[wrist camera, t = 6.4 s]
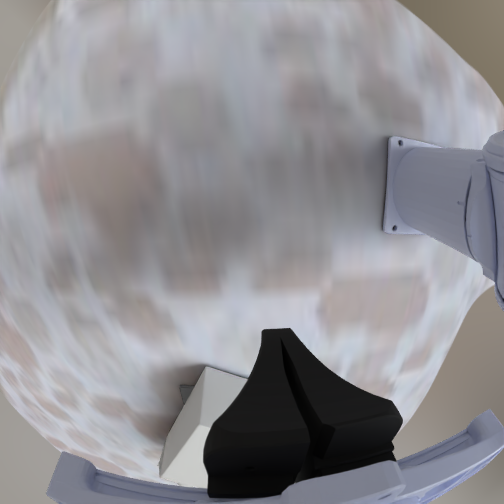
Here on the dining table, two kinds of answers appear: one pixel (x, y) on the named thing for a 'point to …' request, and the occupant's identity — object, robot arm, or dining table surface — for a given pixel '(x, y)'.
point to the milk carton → (197, 427)
